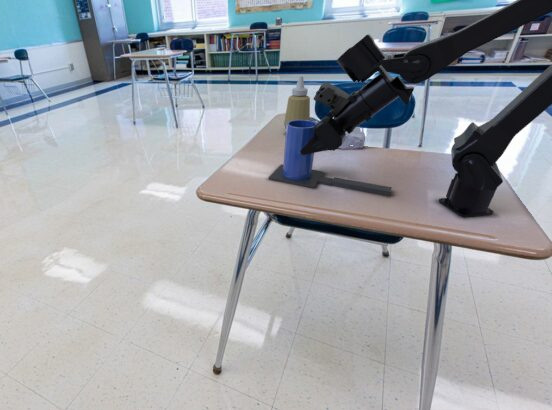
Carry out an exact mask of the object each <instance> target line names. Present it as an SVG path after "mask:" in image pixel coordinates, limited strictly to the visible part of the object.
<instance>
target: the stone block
mask: <svg viewBox="0 0 552 410" xmlns="http://www.w3.org/2000/svg"><path fill="white" fill-rule="evenodd" d="M345 133H346V138H345V141H344V143H343V144H342V145H341V146H340V147H339V148H338V149H341V150H362V149H364V146H365V141H366V134H365V132H364V131H362V130H361V127H360V126H357V127H356V128H355V129H354V130H353V131H352V132H351V133H350V134H348V132H347V131H346V132H345ZM350 145H353V146H350Z"/></svg>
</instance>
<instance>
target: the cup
mask: <svg viewBox="0 0 552 410" xmlns="http://www.w3.org/2000/svg"><path fill="white" fill-rule="evenodd" d="M317 123H318V122H317V121H313V120H293V121H289V122H287V125H286V129H285V137H284V138H285V140H284V150H283V151H284V152H283V154H284V155H283V163H282V164H283V175H284V176H285V177H286V178H288V179H292V180H306V179H308V178H310V177H311V173H312V170H313V166H314V157H315V153H311V154H306V155H302V154H301V153H300V150H301V149H302V148H303V147H304V146H305V145H306V144H307V143H308V142H309V140H310V139H311V138H312V137H313V136H314V131H313V127H314V126H315V125H316V124H317Z"/></svg>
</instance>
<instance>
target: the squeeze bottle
mask: <svg viewBox="0 0 552 410" xmlns="http://www.w3.org/2000/svg"><path fill="white" fill-rule="evenodd" d="M310 109H311V97H310V96H309V95H308V88H306V87H305V81H304V76H303V75H300V76H298V80H297V82H296V86H295V87H293V88H292V89H291V95H290V96H288V99H287V104H286V110H285V116H284V121H283V124H284V125H283V126H284V129H285V130H286V125H287V122H289V121H293V120H310V119H311V116H310V115H311V113H310V112H311V110H310ZM310 121H311V120H310Z"/></svg>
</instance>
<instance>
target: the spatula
mask: <svg viewBox="0 0 552 410" xmlns="http://www.w3.org/2000/svg"><path fill="white" fill-rule="evenodd" d="M324 175H325V171H323V170H317V169H312V173H311V177H310V178H308V179H306V180H292V179H288V178H286V177H285V176H284V175H283V163H282V164H280V165H279V166H278V167H277V168H276V169H275V170H274V171H273V172H272V173H271V174H270V175H269V176H268V180H270V181H274V182H280V183H285V184H290V185H295V186H300V187H305V188H310V189H315V188H316V187H317V185H318V184H320V185H325V186H331V187H332V186H333V187H338V188H343V189H349V190H353V191H360V192H364V193H370V194H375V195H381V196H385V197H390V196H391V192H392V188H393V187H392V186H387V185H382V184H375V183H369V182H364V181H358V180H352V179H348V178H343V177H333V178H332V177H327V176H324Z"/></svg>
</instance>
